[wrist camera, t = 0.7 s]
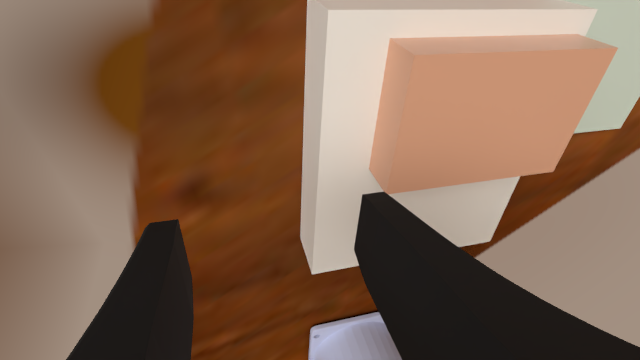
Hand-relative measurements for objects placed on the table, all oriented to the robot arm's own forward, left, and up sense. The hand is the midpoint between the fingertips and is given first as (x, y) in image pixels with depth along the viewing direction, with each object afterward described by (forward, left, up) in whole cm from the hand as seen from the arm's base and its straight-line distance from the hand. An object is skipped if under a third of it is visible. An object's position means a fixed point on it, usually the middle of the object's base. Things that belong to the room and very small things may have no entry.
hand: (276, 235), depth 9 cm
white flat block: (-3, -9, -9) cm, 13 cm away
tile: (0, -10, -6) cm, 12 cm away
